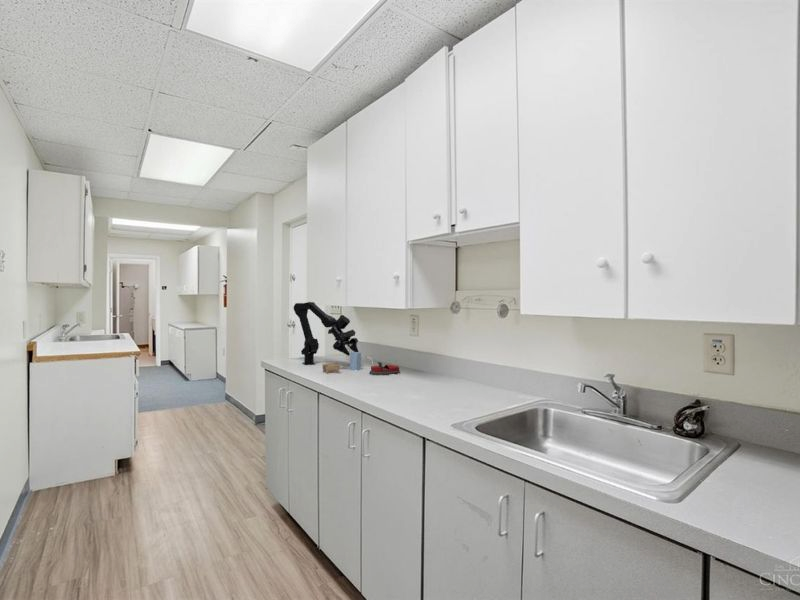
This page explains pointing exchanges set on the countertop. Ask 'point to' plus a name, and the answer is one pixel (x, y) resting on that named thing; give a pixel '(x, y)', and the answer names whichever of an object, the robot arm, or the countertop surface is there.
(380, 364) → the bumper car
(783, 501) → the countertop surface
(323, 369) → the slab bottom
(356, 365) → the pillar
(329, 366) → the slab top
